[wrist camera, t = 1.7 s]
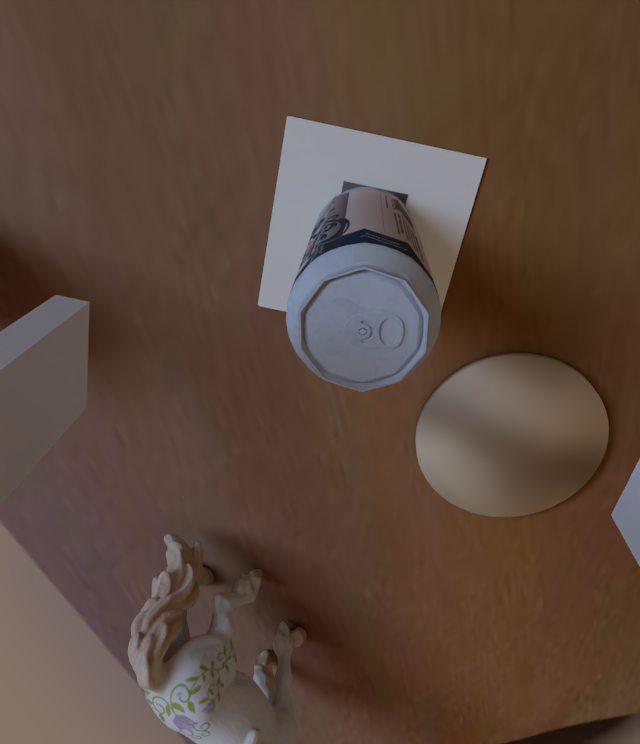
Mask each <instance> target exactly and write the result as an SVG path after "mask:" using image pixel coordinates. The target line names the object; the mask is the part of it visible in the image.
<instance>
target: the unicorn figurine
mask: <svg viewBox="0 0 640 744" xmlns="http://www.w3.org/2000/svg"><path fill="white" fill-rule="evenodd" d="M164 541H165V543H166V545H167V547H168V550H167V552H166V559H167V563H168V567H167V570H166V571H163V572H161V574H160V575H159V577H158V576H157V577H154V579H153V581H152V598H150V599H148V600H147V602H146V603H145V605H144V607H143V608H142V610H141V612H140V613H139V614H138V615H137V616H136V618H135V619H134V621H133V623H132V626H131V636H132V638H131V639H130V642H129V646H128V656H129V660H130V663H131V665H132V667H133V670H134V671H135V673H136V675H137V681H138V684H139V686H140V687H141V688H143V689H144V692H145V695H146V698H147V700H148V702H149V704H150V706H151V708H152V709H153V711H154V712H155V713H156V715H157V716H158V717H159V718H160V719H161V721H162V722H163V723H164V724H165V725H166V726H168V727H169V728H171V729H172V730H174V731H177V732H179V733H181V734H183V735H185V736H186V737H188V738H190V739H191V740H192V741H194V742H195V743H196V744H296V741H297V724H296V720H295V714H294V707H293V701H292V697H291V686H292V673H291V655H292V652H293V649H294V648H295V647H299V646H300V645H301V644H302V643H303V642H304V641H305V640H306V632H305V630H304V629H303V628H301V627H297V628H295V629H294V630H289V628H288V626H287V624H286V622H285V621H284V620H282V621H281V622H280V625H279V629H278V632H277V634H276V636H275V639H274V641H273V649H274V652H275V653H276V655H277V657H278V662H279V664H278V668H277V670H276V673H275V677H274V675H273V671H272V660H271V655H270V652H269V651H268V650H264V651H262V652H261V653H259V654H258V655H257V657H256V659H255V662H254V668H255V674H254V677H253V679H252V678H251V677H249V676H248V675H246V674H244V673H242V672H239V671H236V668H237V658H236V653H235V649H234V644H233V639H234V628H233V621H232V610H233V609H235V608H237V607H239V606H242V605H246V604H250V603H252V602H254V601H255V599H256V597H257V594H258V591H259V588H260V585H261V579H262V574H263V571H262V570H261V569H255V570H251V571H250V572H249V573H243V574H242V577H241V578H239V579H237V580H236V581H235V582H234V583H233V587H232V592H228V593H222V592H220V593H217V594H215V596H214V598H213V602H214V613H213V616H212V622H211V626H210V629H209V631H208V632H207V633H206V634H202V635H198V636H195V637H193V638H190V633H189V628H188V625H187V609H189V608H191V607H192V606H193V605H194V604H195V603H196V601H197V599H198V597H199V588H204V587H206V586H209V585H211V584H212V583H213V581H214V577H213V573H212V572H211V571H210V570H209V569H208V568H206V567H204V568H203V563H202V557H203V555H202V547H201V544H200V543H199V542H198V541H195V543H194V546H193V548H192V549H191V548H190V547H189V546H188V545H187V543H186V542H185V541H183V540H182V539H180V538H179V537H177V536H176V535H173V534H167V535H166V536H165V537H164ZM275 687H276V689H275Z"/></svg>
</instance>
